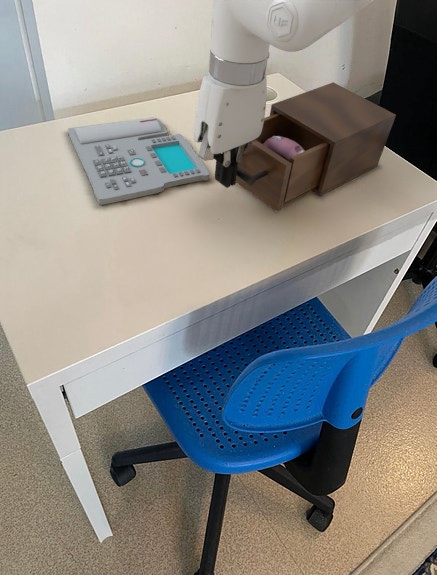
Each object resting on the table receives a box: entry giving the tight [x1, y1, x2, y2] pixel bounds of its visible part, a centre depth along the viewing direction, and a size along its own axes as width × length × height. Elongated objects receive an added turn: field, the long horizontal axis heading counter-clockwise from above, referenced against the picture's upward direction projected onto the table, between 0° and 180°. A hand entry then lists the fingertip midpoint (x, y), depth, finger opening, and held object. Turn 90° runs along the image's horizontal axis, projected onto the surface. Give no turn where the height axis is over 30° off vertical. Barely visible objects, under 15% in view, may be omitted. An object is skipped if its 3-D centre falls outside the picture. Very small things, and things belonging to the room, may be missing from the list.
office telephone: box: [67, 116, 210, 206], centre depth 89 cm, size 23×3×20 cm
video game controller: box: [263, 136, 305, 161], centre depth 85 cm, size 10×5×7 cm, turn 42°
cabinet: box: [269, 82, 397, 197], centre depth 90 cm, size 17×15×11 cm
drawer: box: [236, 113, 331, 213], centre depth 84 cm, size 20×13×9 cm
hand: (224, 181), depth 78 cm, fingers closed
